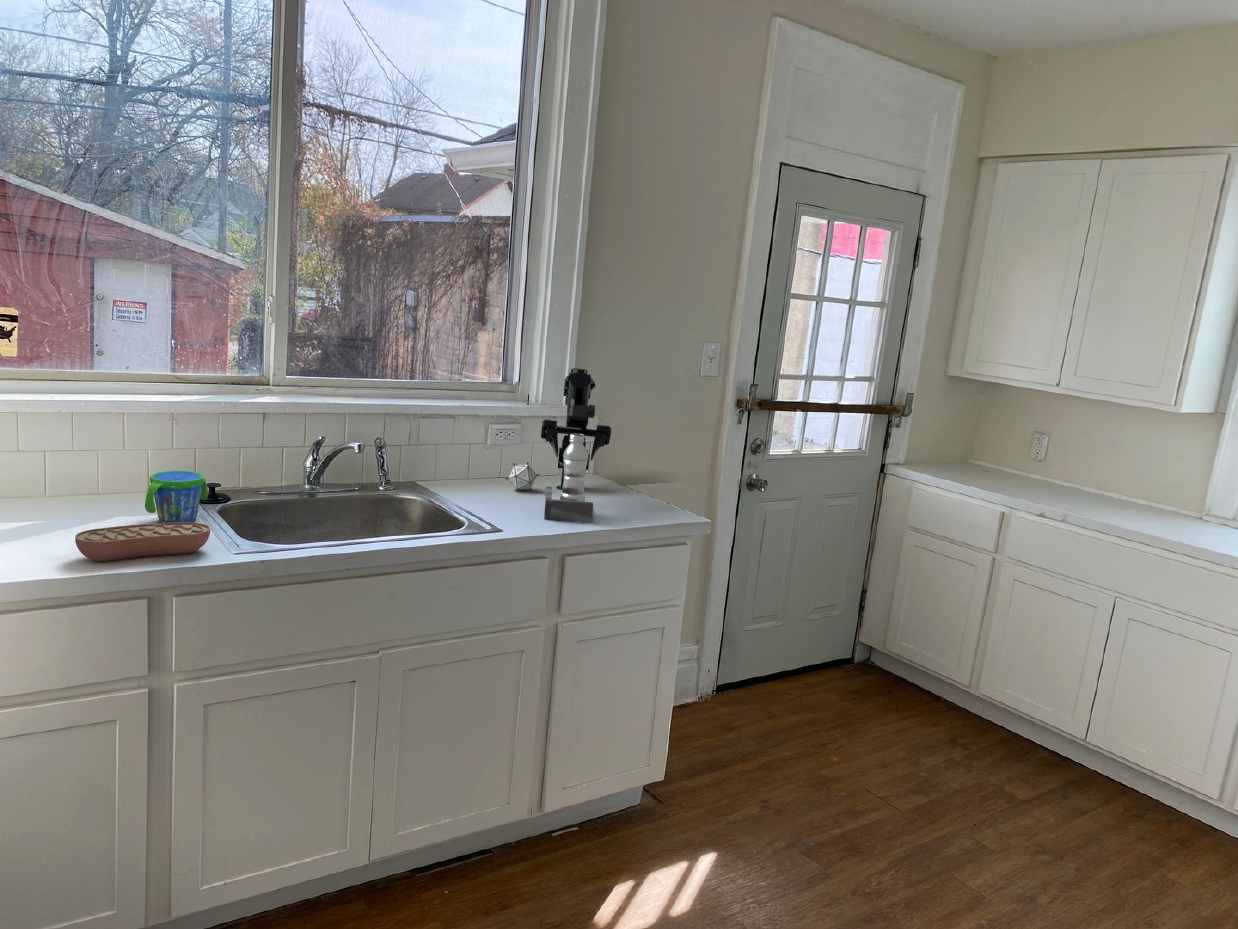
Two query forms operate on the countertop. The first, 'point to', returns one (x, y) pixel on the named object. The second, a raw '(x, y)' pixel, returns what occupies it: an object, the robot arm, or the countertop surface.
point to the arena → (567, 509)
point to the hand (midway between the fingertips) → (574, 457)
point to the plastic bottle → (574, 469)
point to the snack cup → (176, 495)
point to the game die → (522, 476)
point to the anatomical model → (142, 540)
